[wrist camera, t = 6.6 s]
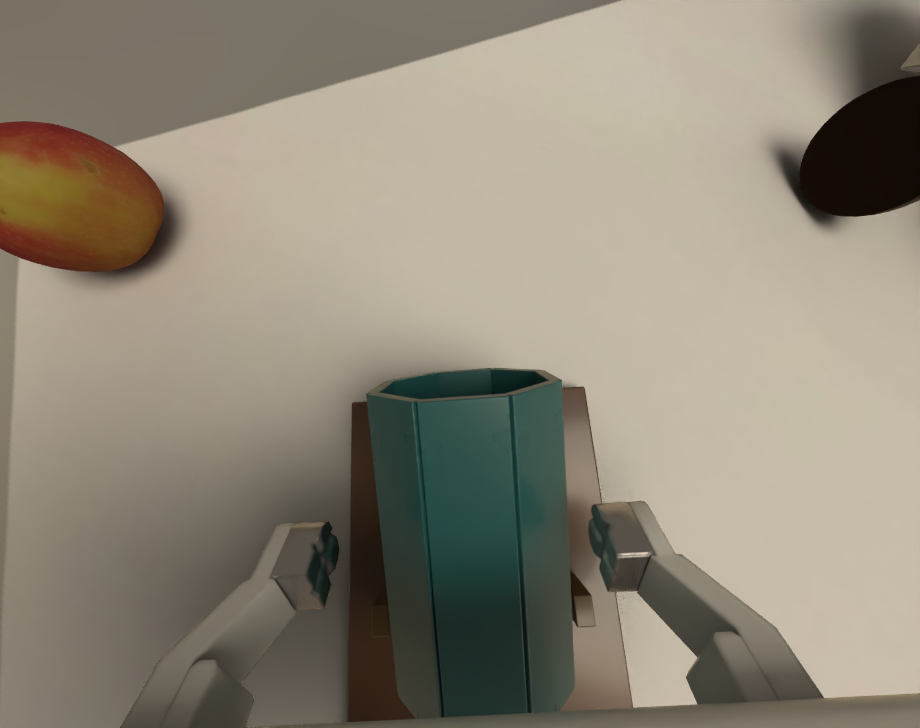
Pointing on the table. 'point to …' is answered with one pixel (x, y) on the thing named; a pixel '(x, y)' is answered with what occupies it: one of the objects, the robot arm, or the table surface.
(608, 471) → the table surface
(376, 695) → the brown rectangular board
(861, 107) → the light fixture
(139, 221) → the apple
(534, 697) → the teal hollow octagonal tube
